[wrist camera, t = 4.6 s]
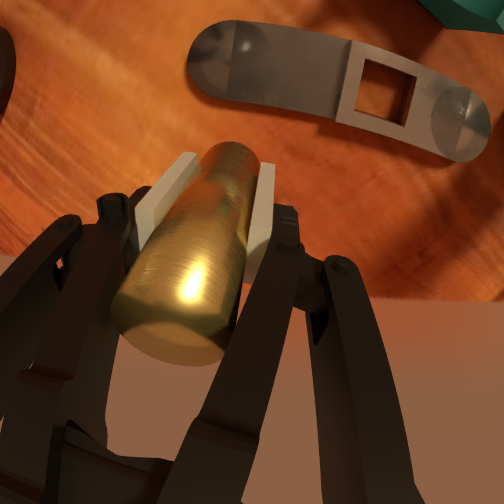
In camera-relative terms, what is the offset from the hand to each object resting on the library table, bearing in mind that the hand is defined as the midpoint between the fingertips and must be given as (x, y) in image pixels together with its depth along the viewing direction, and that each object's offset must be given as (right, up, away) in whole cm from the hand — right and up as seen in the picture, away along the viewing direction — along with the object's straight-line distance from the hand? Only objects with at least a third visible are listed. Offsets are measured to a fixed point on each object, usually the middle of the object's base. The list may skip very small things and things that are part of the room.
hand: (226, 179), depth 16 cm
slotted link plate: (+11, +12, +7) cm, 18 cm away
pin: (0, +1, +1) cm, 2 cm away
